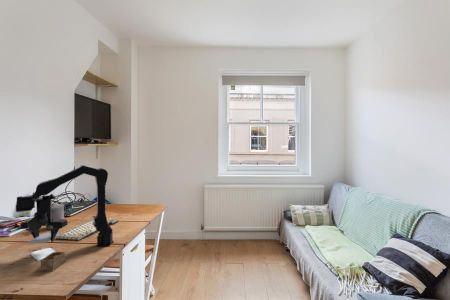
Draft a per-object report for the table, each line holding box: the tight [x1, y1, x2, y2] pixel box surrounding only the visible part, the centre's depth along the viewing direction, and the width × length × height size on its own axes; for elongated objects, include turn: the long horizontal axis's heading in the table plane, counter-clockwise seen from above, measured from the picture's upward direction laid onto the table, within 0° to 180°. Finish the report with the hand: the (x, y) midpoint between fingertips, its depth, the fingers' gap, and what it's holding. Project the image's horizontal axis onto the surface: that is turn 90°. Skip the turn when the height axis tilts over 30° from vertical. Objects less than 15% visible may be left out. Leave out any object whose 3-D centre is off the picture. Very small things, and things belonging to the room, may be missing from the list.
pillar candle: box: [45, 203, 65, 231], centre depth 167 cm, size 10×10×15 cm
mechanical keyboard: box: [54, 217, 120, 242], centre depth 163 cm, size 38×19×3 cm, turn 173°
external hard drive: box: [30, 247, 56, 262], centre depth 125 cm, size 2×8×12 cm
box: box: [40, 251, 66, 272], centre depth 114 cm, size 5×9×4 cm, turn 2°
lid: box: [29, 232, 59, 244], centre depth 125 cm, size 7×10×1 cm, turn 3°
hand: (44, 242), depth 125 cm, fingers closed on lid, 7 cm apart
